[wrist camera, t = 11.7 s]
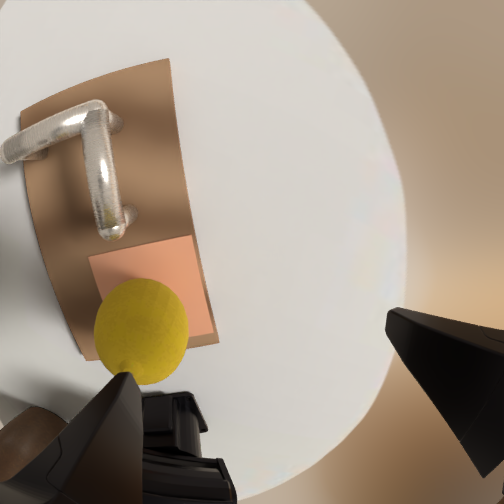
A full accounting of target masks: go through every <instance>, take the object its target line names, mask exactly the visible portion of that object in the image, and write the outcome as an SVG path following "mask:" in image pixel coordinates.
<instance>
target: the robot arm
mask: <svg viewBox="0 0 504 504" xmlns="http://www.w3.org/2000/svg"><path fill="white" fill-rule="evenodd" d="M385 332H386V335H387V337H388V338H389V340H390V341H391V343H392V345H393V346H394V348H395V350H396V351H397V353H398V355H399V356H400V358H401V360H402V361H403V363H404V364H405V366H406V367H407V369H408V370H409V371H410V372H411V374H412V375H413V377H414V378H415V379H416V381H417V382H418V383H419V385H420V386H421V387H422V389H423V390H424V391H425V392H426V394H427V395H428V397H429V398H430V400H431V401H432V402H433V404H434V405H435V406H436V408H437V409H438V411H439V412H440V414H441V415H442V417H443V418H444V419H445V421H446V422H447V424H448V425H449V427H450V428H451V430H452V431H453V432H454V434H455V436H456V437H457V439H458V440H459V441H460V443H461V445H462V446H463V448H464V450H465V451H466V453H467V454H468V456H469V457H470V459H471V461H472V462H473V464H474V465H475V467H476V468H477V470H478V472H479V473H480V475H481V476H482V478H485V477H486V476H487V475H488V474H489V473H490V472H491V471H493V470H494V469H495V468H496V467H497V466H498V465H499V464H500V463H501V462H502V461H503V460H504V330H499V329H494V328H489V327H483V326H478V325H474V324H470V323H465V322H461V321H456V320H452V319H447V318H443V317H438V316H434V315H429V314H425V313H420V312H417V311H412V310H408V309H404V308H400V307H396V308H394V309H391V310H389V311H388V313H387V319H386V327H385ZM187 397H190V398H187ZM207 431H208V426H207V424H206V422H205V420H204V418H203V415H202V413H201V411H200V409H199V407H198V404H197V402H196V400H195V397H194V395H193V394H192V393H181V394H173V395H165V396H155V397H144V398H141V391H140V388H139V386H138V385H137V383H136V381H135V379H134V377H133V375H132V374H131V372H129V371H127V372H119V373H117V374H116V375H115V376H114V377H113V378H112V379H111V380H110V381H109V382H108V384H107V385H106V386H105V387H104V388H103V389H102V390H101V391H100V392H99V393H98V394H97V395H96V396H95V397H94V398H93V399H92V400H91V401H90V402H89V403H88V404H87V405H86V406H85V407H84V408H83V409H82V410H81V411H80V412H79V414H78V415H77V416H76V417H75V418H74V419H73V420H72V421H71V422H70V423H69V424H68V425H67V426H66V427H65V428H64V429H63V430H62V431H61V432H60V433H59V436H56V438H55V439H54V440H53V441H52V442H51V443H50V444H49V445H48V446H47V447H46V448H45V449H44V450H43V451H42V452H41V453H40V454H38V455H37V456H36V457H35V458H34V459H33V460H32V461H31V462H29V463H28V464H27V465H26V466H25V467H23V468H22V469H21V470H20V471H19V472H18V473H16V474H15V475H14V476H13V477H12V478H10V479H8V480H6V481H3V482H0V504H237V494H236V490H235V487H234V485H233V482H232V480H231V478H230V475H229V473H228V470H227V468H226V465H225V463H224V460H223V459H222V458H216V459H211V458H202V454H201V444H200V433H203V432H207ZM502 493H503V495H504V484H503V490H502ZM497 504H504V497H503V498H502V499H501V500H500V501H499V502H498V503H497Z"/></svg>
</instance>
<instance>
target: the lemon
mask: <svg viewBox="0 0 504 504" xmlns="http://www.w3.org/2000/svg"><path fill="white" fill-rule="evenodd" d="M188 338H189V328H188V318H187V315H186V312H185V309H184V306H183V304H182V302H181V301H180V299H179V298H178V296H177V295H176V294H175V293H174V292H173V291H172V290H171V289H170V288H169V287H167V286H166V285H164V284H162V283H161V282H158V281H155V280H152V279H145V278H138V279H131V280H128V281H126V282H124V283H121V284H119V285H118V286H116V287H115V288H114V289H113V290H112V291H111V292H110V293H109V294H108V295H107V296H106V297H105V299H104V300H103V302H102V304H101V305H100V307H99V309H98V312H97V316H96V321H95V325H94V341H95V348H96V351H97V353H98V356H99V358H100V360H101V361H102V363H103V364H104V366H105V367H106V368H107V369H108V370H109V371H110V372H111V373H112V374H113V375H114V376H115V375H116V374H117V373H119V372H127V371H129V372H131V374H132V375H133V377H134V379H135V381H136V383H137V385H148V384H154V383H157V382H159V381H162V380H164V379H165V378H167V377H168V376H169V375H170V374H172V373H173V372H174V371H175V370H176V368H177V367H178V365H179V363H180V362H181V360H182V358H183V356H184V354H185V350H186V347H187V343H188Z"/></svg>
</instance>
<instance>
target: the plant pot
mask: <svg viewBox="0 0 504 504" xmlns="http://www.w3.org/2000/svg"><path fill="white" fill-rule="evenodd" d="M67 425H68V424H67V423H66V422H65V421H64V420H62V419H61V418H60V417H58V416H57V415H55V414H53V413H52V412H50V411H48V410H45V409H43V408H40V407H30V408H28V409H27V410H25V411H24V412H22V413H21V414H20V415H18V416H17V417H16V418H14V419H13V420H12V421H10V422H9V423H8V424H7V425H6V426H4V427H3V428H2V429H1V430H0V482H3V481H6V480H8V479H10V478H12V477H13V476H14V475H15V474H16V473H18V472H19V471H20V470H21V469H22V468H23V467H25V466H26V465H27V464H28V463H29V462H31V461H32V460H33V459H34V458H35V457H36V456H37V455H38V454H40V453H41V452H42V451H43V450H44V449H45V448H46V447H47V446H48V445H49V444H50V443H51V442H52V441H53V440H54V439H55V438H56V436H59V433H60V432H61V431H62V430H63V429H64V428H65V427H66V426H67Z"/></svg>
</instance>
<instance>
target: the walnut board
mask: <svg viewBox="0 0 504 504" xmlns="http://www.w3.org/2000/svg"><path fill="white" fill-rule="evenodd" d="M95 99H98V100H101V101H103V102H104V103H106V105H107V107H108V110H110V111H111V112H113V113H115V114H116V115H118V116H119V117H121V118H122V119H123V122H124V126H123V128H122V130H121V131H120V132H119V133H117V134H111V139H112V147H113V154H114V161H115V168H116V174H117V180H118V185H119V191H120V196H121V201H122V206H125V205H128V204H131V205H134V206H135V207H136V208H137V210H138V217H137V219H136V220H135V221H134V222H133V223H132V224H130V225H129V226H128V227H127V228H126V231H125V233H124V235H123V236H122V237H121V238H120V239H118V240H116V241H107V240H104V239H103V238H102V237H101V236H100V235H99V233H98V230H97V226H96V222H95V217H94V213H93V208H92V204H91V199H90V193H89V188H88V182H87V177H86V170H85V164H84V156H83V149H82V140H81V134H79V135H76V136H73V137H71V138H68V139H66V140H63V141H60V142H58V143H56V144H53V145H51V146H48V148H49V152H48V155H47V157H46V158H45V159H43V160H23V164H24V173H25V180H26V187H27V193H28V198H29V204H30V209H31V214H32V218H33V222H34V227H35V231H36V235H37V239H38V242H39V246H40V249H41V253H42V256H43V260H44V263H45V266H46V269H47V272H48V275H49V278H50V281H51V283H52V286H53V289H54V292H55V294H56V297H57V299H58V302H59V304H60V307H61V309H62V312H63V314H64V316H65V319H66V321H67V323H68V325H69V327H70V330H71V332H72V334H73V336H74V338H75V340H76V342H77V344H78V346H79V348H80V350H81V352H82V354H83V356H84V358H85V360H86V361H94V360H100V358H99V356H98V353H97V351H96V348H95V341H94V325H95V321H96V316H97V312H98V309H99V307H100V305H101V304H102V302H103V301H102V298H101V295H100V292H99V290H98V287H97V284H96V281H95V278H94V275H93V272H92V268H91V265H90V262H89V259H88V257H89V256H92V255H96V254H101V253H105V252H110V251H114V250H119V249H123V248H128V247H132V246H137V245H142V244H146V243H151V242H156V241H161V240H166V239H171V238H175V237H180V236H185V235H190V234H192V239H193V244H194V249H195V253H196V258H197V263H198V267H199V272H200V276H201V281H202V285H203V289H204V294H205V298H206V302H207V306H208V310H209V314H210V318H211V322H212V326H213V330H214V333H209V334H204V335H198V336H193V337H189V338H188V343H187V347H186V349H189V348H195V347H200V346H206V345H211V344H216V343H219V337H218V333H217V329H216V325H215V321H214V317H213V312H212V308H211V304H210V300H209V295H208V291H207V287H206V282H205V278H204V273H203V269H202V264H201V259H200V254H199V250H198V245H197V240H196V235H195V230H194V224H193V219H192V214H191V208H190V203H189V197H188V192H187V186H186V180H185V174H184V168H183V161H182V155H181V148H180V141H179V134H178V127H177V120H176V112H175V104H174V96H173V87H172V78H171V68H170V61H169V58H167V59H162V60H158V61H153V62H149V63H145V64H140V65H137V66H133V67H129V68H125V69H122V70H119V71H115V72H112V73H109V74H106V75H103V76H100V77H97V78H94V79H91V80H88V81H86V82H83V83H81V84H78V85H75V86H73V87H71V88H68V89H66V90H63V91H61V92H59V93H57V94H54V95H52V96H50V97H48V98H46V99H44V100H42V101H40V102H38V103H36V104H34V105H32V106H30V107H28V108H26V109H24V110H23V111H21V131H22V130H24V129H26V128H28V127H30V126H32V125H34V124H36V123H38V122H40V121H42V120H44V119H46V118H49V117H51V116H53V115H55V114H58V113H60V112H62V111H65V110H67V109H70V108H72V107H75V106H77V105H80V104H82V103H85V102H88V101H91V100H95Z"/></svg>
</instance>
